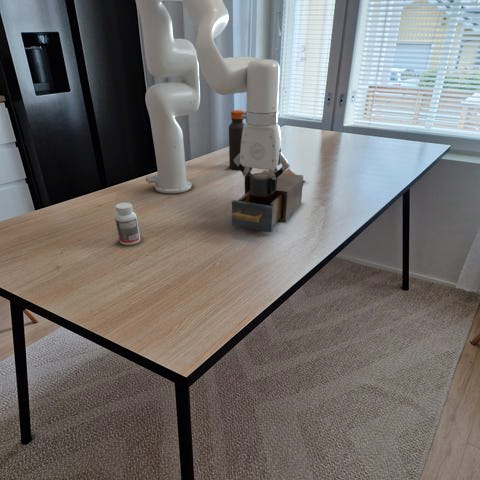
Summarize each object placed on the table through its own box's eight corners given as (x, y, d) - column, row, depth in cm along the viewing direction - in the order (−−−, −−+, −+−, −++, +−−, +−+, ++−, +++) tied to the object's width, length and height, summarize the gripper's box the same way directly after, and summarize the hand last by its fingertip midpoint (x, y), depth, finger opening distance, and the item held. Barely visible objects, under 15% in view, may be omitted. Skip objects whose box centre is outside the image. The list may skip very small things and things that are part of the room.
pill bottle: (121, 237, 110) (114, 201, 104) (141, 236, 110) (135, 201, 104) (118, 246, 105) (111, 209, 100) (139, 245, 106) (133, 208, 100)
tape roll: (249, 197, 109) (250, 179, 106) (248, 189, 113) (249, 172, 111) (272, 196, 109) (273, 179, 106) (270, 189, 114) (271, 172, 111)
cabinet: (285, 222, 117) (287, 191, 112) (244, 215, 122) (244, 185, 116) (301, 203, 129) (303, 175, 124) (263, 198, 133) (264, 170, 128)
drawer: (265, 239, 106) (266, 214, 102) (224, 232, 110) (224, 207, 106) (288, 213, 120) (289, 190, 116) (251, 207, 124) (252, 184, 120)
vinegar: (227, 169, 159) (225, 112, 147) (232, 164, 164) (232, 109, 152) (243, 170, 157) (243, 113, 145) (248, 165, 162) (249, 110, 150)
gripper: (224, 119, 100) (225, 191, 111) (291, 124, 95) (286, 200, 105) (236, 114, 106) (237, 183, 116) (300, 118, 100) (294, 191, 111)
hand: (260, 191), depth 111 cm, fingers closed on tape roll, 6 cm apart
